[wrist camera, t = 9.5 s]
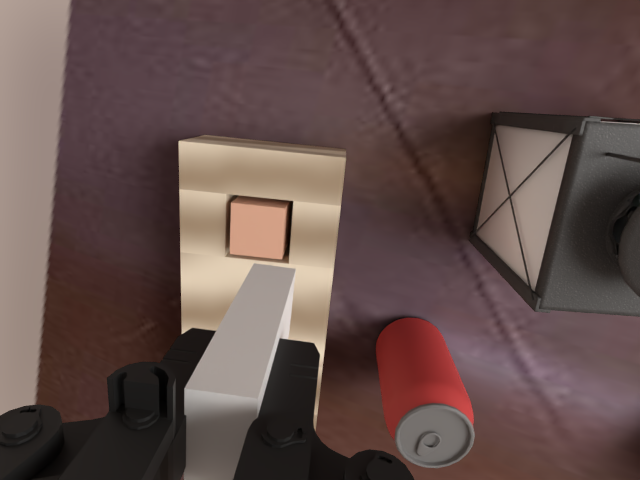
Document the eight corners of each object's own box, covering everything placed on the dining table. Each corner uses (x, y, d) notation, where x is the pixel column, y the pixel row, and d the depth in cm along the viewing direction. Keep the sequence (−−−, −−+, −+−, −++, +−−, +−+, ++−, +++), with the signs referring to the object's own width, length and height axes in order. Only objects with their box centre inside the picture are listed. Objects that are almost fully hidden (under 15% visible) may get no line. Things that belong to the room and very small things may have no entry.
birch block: (205, 134, 35) (178, 140, 29) (345, 149, 35) (346, 157, 29) (204, 387, 43) (183, 430, 37) (317, 400, 43) (313, 446, 37)
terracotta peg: (248, 187, 36) (230, 202, 30) (294, 191, 36) (285, 208, 30) (247, 230, 37) (229, 254, 31) (291, 235, 37) (281, 259, 31)
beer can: (362, 354, 41) (370, 450, 30) (397, 302, 39) (420, 384, 28) (419, 382, 42) (447, 487, 30) (456, 333, 40) (501, 425, 28)
